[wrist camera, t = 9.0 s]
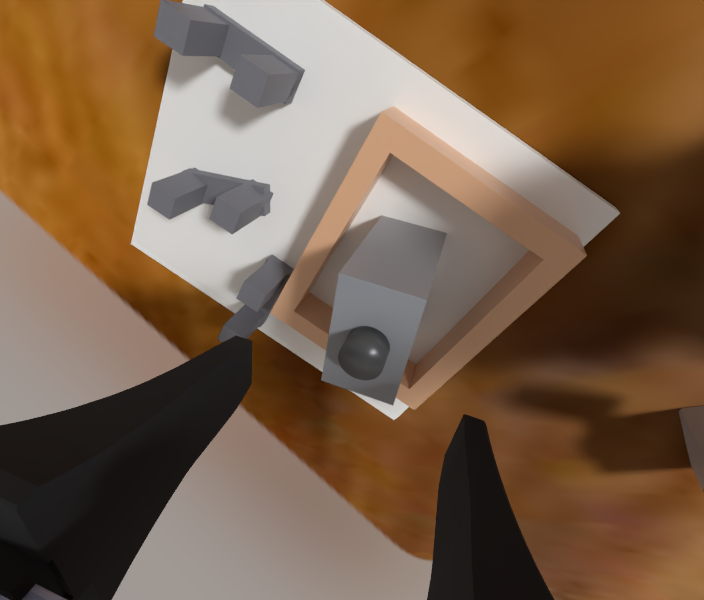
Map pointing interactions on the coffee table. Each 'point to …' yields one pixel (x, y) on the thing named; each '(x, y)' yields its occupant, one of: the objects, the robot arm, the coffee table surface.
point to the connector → (380, 307)
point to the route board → (317, 165)
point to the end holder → (473, 191)
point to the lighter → (694, 438)
